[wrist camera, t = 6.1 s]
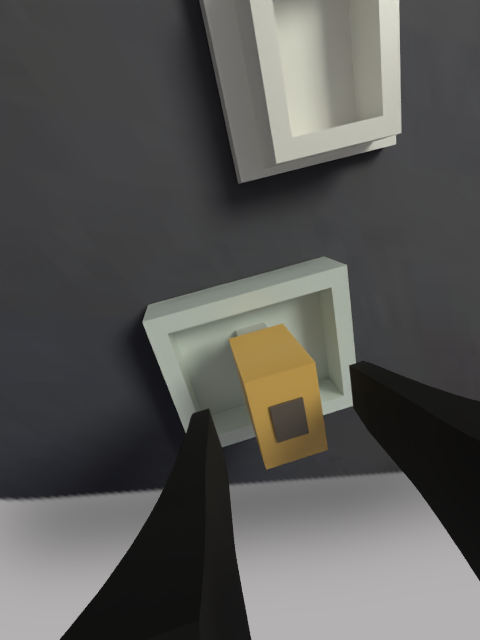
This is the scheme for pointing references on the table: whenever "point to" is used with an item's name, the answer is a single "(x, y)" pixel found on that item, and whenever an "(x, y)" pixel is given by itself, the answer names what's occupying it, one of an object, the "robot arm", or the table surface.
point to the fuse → (279, 393)
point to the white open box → (304, 79)
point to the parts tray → (246, 310)
